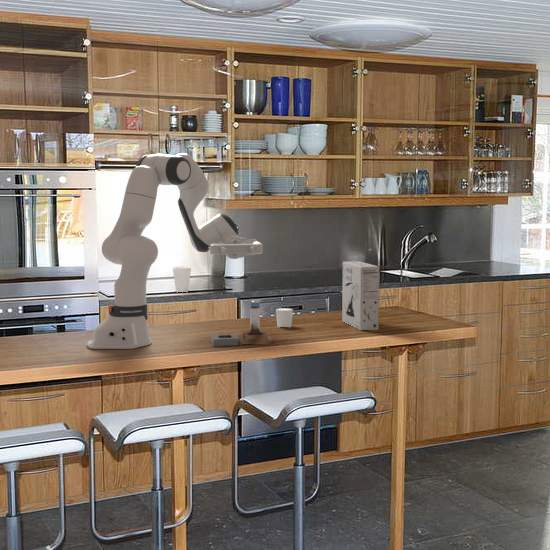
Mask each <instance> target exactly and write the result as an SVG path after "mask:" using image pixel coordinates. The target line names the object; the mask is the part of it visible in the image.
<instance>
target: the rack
mask: <svg viewBox="0 0 550 550" xmlns="http://www.w3.org/2000/svg"><path fill="white" fill-rule="evenodd" d="M238 338H239V346H243V345H242V344H253V345H273V344H274V343H275V341H274V340H273V339H272V338H271V336H269V335H268V334H267V333H266V331H264V330H263V331H260V335H250V331H242V336H240V337H239V336H238Z"/></svg>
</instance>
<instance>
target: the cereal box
mask: <svg viewBox="0 0 550 550" xmlns="http://www.w3.org/2000/svg"><path fill="white" fill-rule="evenodd" d="M341 296H342V301H341V302H342V304H341V305H342V306H341V307H342V308H341V310H342V311H341V312H342V313H341V316H342V318H341V320H342V321H343V323H344V322H345V323H344V324H346V323H347V324H346V325H348V324H349V325H348V326H350V325H351V326H350V327H352V326H353V327H352V328H354V327H355V328H354V329H356V328H357V329H356V330H358V329H359V330H358V331H360V330H371V331H378V330H379V315H380V313H379V310H380V309H379V304H380V303H379V301H380V299H379V298H380V297H379V296H380V266H377V265H374V264H371V263H367V262H363V261H359V260H358V261H357V260H356V261H355V260H353V261H343V262H342V294H341ZM342 321H341V322H342ZM377 329H378V330H377Z"/></svg>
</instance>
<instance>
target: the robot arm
mask: <svg viewBox="0 0 550 550" xmlns="http://www.w3.org/2000/svg"><path fill="white" fill-rule="evenodd" d="M127 181H128V182H127V183H126V187H125V192H124V195H123V201H122V205H121V210H120V214H119V216H118V219H117V221H116V223H115V224H114V227H113V229H112V231H111V232H110V234H109V235H108V236H107V237H106V238H105V239H104V240H103V242H102V244H101V253H102V255H103V258H104V259H106V260H107V261H109V262H110V263H112V264H115V265H121V268H120V272H119V273H120V274H119V276H118V278H117V279H116V280H115V281H114V293H113V294H114V304H109V305H108V306H107V307H108V308H107V309H108V315H109V316H107V317H106V318H104V320H102V321H101V322H100V323H98V324H97V326H95V328H94V331H93V336H92V339H89V340H88V341H87V343H86V347H87V348H88V349H92V350H93V349H96V350H99V349H102V350H103V349H104V350H105V349H106V350H107V349H110V350H112V349H113V350H115V349H116V350H117V349H118V350H124V349H125V350H130V349H131V350H132V349H133V350H134V349H137V348H140V347H146V346H149V345H151V344H152V339H151V336H150V331H149V325H148V323H149V322H148V320H149V319H148V318H149V307H148V304H147V282H148V281H147V280H148V277H149V272H150V269H151V267H152V265H153V264H154V263H155V262H156V260H157V259H158V256H159V255H158V254H159V248H158V245H157V243H156V242H155V241H154V240H153V239H150V238H149V237H146V236H144V235H142V233H143V232H144V230H145V229H146V228H147V227H148V226H149V224H151V222H152V219H153V216H154V210H155V206H156V200H157V195H158V188H159V186H171V185H174V186H177V189H178V191H179V198H178V199H177V205H178V208H179V211H180V215H181V218H182V219H183V222H184V225H185V227H186V230H187V232H188V236H189V239H190V243H191V245H192V247H193V248H194V249H195V250H196V251H197V252H199V253H207V252H209V251H210V252H209V254H210V255H225V256H226V257H228V259H232V260H233V259H234V260H237V259H241V258H245V257H252V256H256V255H262V254H263V253H264V252H263V251H264V246H263V243H262V242H260V241H257V239H256V238H247V237H242V236H238V235H239V228H238V226H237V225H236V224H235V222H234V220H233V219H232V218H231V217H230V216H229V215H227V214H225V213H222V212H221V213H220V212H219V213H218V214H216V215H215V216H213V217H211V218H210V219H209V220H208V221H206V222H204V223H203V224H201V225H200V226H198V224H197V222H196V219H195V217H194V215H195V211H196V209H197V207H199V205H200V203H201V202H202V201H203V200H204V199H205V197H206V196H207V193H208V191H209V182H208V180H207V177H206V175H205V173H204V172H203V170H202V168H201V167H200V165H199V164H198V163H197V161H195V159H194V158H193V157H192V156H191V155H190V154H188V153H185V152H181V153H177V154H176V155H171V154H166V153H155V154H154V153H149V154H145V155H142V156H141V157H140V158H139V159H138V160H137V163H136V165H135V167H134V168H133V169H132V171H131V173H130V176H129V178H128V180H127Z"/></svg>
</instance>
